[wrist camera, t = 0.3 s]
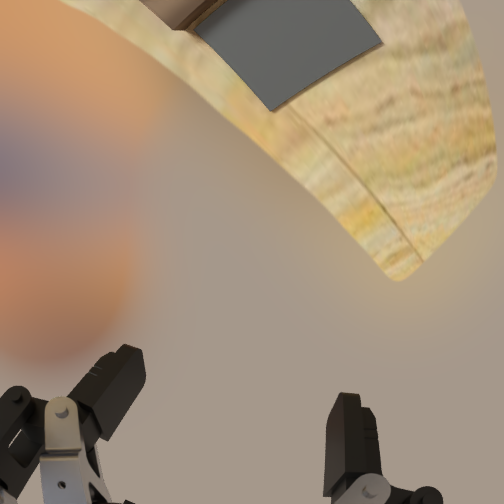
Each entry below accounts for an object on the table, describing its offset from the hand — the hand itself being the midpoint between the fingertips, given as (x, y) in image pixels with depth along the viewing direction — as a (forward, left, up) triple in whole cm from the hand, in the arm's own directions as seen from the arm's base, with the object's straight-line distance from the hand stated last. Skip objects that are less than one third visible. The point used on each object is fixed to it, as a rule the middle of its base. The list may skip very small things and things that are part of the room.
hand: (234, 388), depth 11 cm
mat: (-11, +7, -31) cm, 33 cm away
